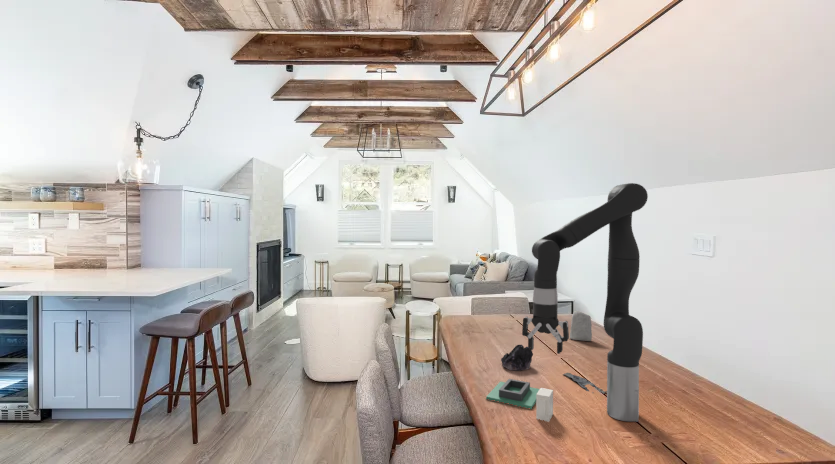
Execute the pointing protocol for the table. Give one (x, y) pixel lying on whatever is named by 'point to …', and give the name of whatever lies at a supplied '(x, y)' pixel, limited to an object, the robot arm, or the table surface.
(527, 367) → the crystal cluster
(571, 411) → the table surface
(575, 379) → the driftwood
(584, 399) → the table surface
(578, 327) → the decorative stone
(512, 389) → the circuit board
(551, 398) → the plug
